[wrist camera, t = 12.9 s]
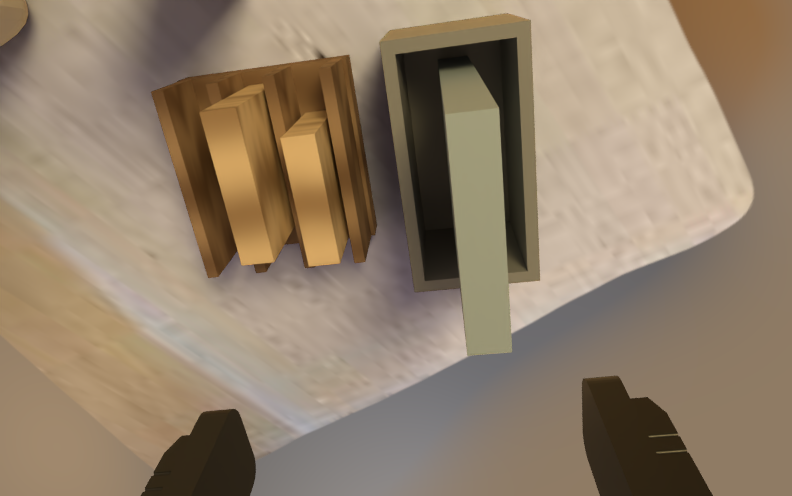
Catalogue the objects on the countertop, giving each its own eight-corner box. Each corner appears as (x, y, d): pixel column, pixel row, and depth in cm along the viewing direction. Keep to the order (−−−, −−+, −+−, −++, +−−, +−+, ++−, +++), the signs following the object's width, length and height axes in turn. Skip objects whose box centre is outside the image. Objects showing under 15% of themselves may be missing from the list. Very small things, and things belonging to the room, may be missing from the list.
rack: (187, 77, 44) (146, 92, 37) (349, 54, 42) (335, 66, 36) (233, 241, 49) (204, 278, 43) (377, 225, 48) (369, 261, 42)
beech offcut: (305, 112, 42) (280, 138, 35) (334, 109, 42) (314, 133, 35) (327, 222, 46) (308, 266, 39) (354, 219, 46) (340, 263, 39)
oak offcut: (248, 85, 42) (199, 112, 33) (277, 81, 42) (235, 107, 33) (278, 210, 46) (241, 265, 37) (304, 208, 46) (274, 262, 37)
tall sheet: (437, 59, 41) (444, 114, 23) (467, 55, 41) (498, 107, 23) (451, 211, 46) (467, 355, 28) (478, 209, 46) (512, 352, 28)
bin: (390, 30, 42) (379, 41, 32) (507, 13, 41) (530, 20, 32) (417, 235, 48) (414, 292, 39) (518, 224, 47) (539, 280, 38)
